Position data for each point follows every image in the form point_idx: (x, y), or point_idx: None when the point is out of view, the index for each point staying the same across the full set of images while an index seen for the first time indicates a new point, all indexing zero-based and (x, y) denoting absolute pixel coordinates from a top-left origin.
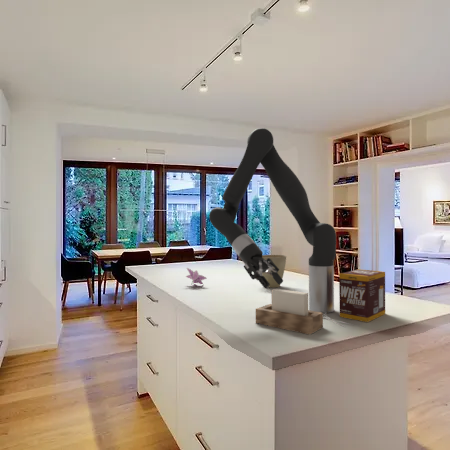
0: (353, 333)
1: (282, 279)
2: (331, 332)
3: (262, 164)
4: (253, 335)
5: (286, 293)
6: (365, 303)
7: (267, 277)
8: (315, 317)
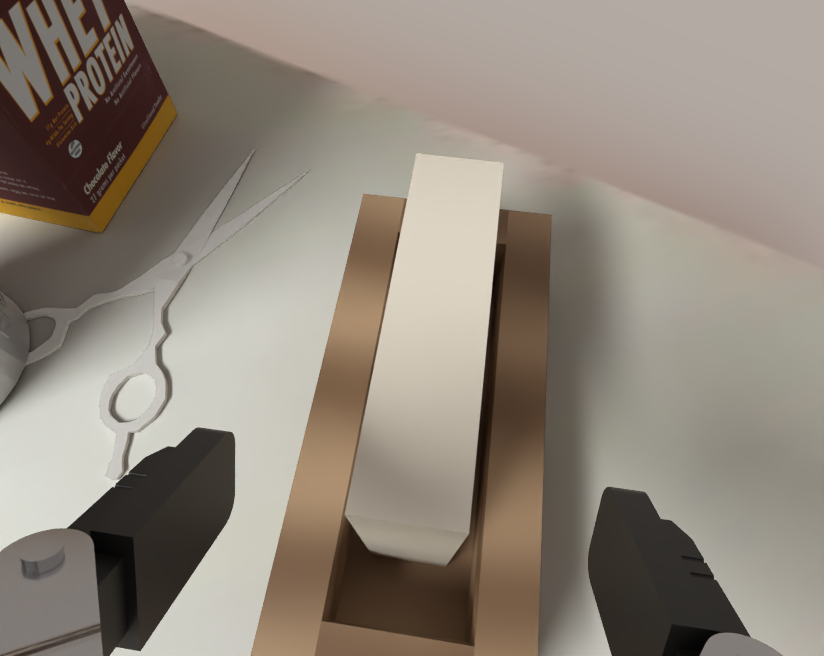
0: (395, 129)
1: (191, 434)
2: None
3: None
4: (779, 557)
5: (485, 329)
6: (130, 28)
7: None
8: None
